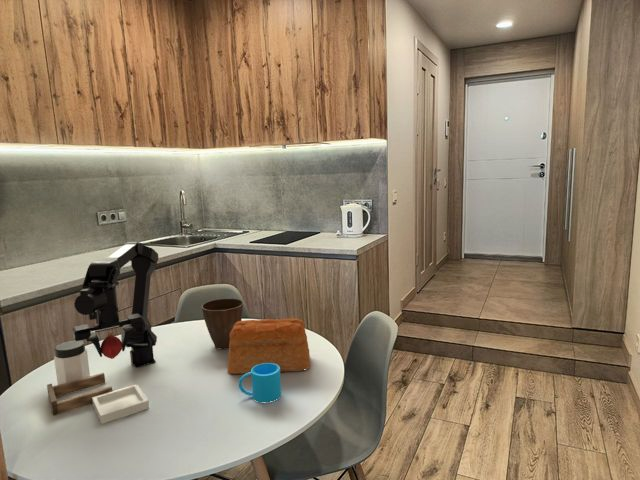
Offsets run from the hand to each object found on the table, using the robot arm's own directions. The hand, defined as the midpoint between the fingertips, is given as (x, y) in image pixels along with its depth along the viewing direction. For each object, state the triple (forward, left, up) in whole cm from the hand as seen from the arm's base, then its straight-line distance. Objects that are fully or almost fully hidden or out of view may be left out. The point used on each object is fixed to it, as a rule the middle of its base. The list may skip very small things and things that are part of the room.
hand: (112, 353), depth 130 cm
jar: (+9, -13, -11) cm, 20 cm away
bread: (-44, +17, -11) cm, 49 cm away
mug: (-32, +33, -11) cm, 47 cm away
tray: (+1, +13, -11) cm, 17 cm away
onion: (0, 0, -2) cm, 2 cm away
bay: (+9, 0, -11) cm, 14 cm away
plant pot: (-40, -8, -11) cm, 42 cm away
